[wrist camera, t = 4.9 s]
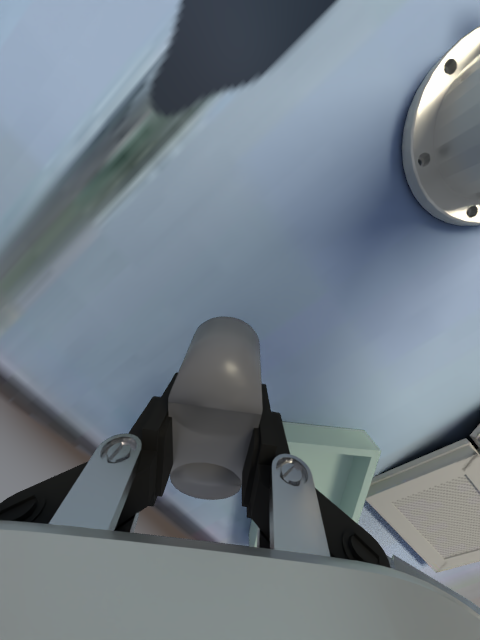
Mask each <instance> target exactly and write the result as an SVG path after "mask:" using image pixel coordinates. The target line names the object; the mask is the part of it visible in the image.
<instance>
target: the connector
mask: <svg viewBox="0 0 480 640" xmlns="http://www.w3.org/2000/svg"><path fill="white" fill-rule="evenodd" d="M262 411H263V406H262V385H261V365H260V344H259V339H258V336H257V334H256V332H255V331H254V330H253V329H252V327H251V326H249V325H248V324H247V323H245V322H244V321H242V320H239V319H236V318H233V317H216V318H212V319H209V320H207V321H206V322H204V323H203V324H201V325H200V326H199V327H198V329H197V330H196V332H195V334H194V336H193V339H192V341H191V344H190V346H189V348H188V351H187V353H186V356H185V358H184V360H183V363H182V365H181V368H180V370H179V372H178V375H177V377H176V380H175V382H174V384H173V387H172V389H171V392H170V394H169V398H168V413H169V417H172V431H173V466H172V469H171V472H170V479H171V482H172V484H173V485H174V487H175V488H176V489H178V490H179V491H181V492H182V493H184V494H186V495H189V496H192V497H195V498H200V499H209V500H215V499H224V498H228V497H230V496H233V495H235V494H236V493H237V492H238V491H239V490H240V488H241V485H242V471H243V467H244V463H245V459H246V456H247V452H248V448H249V444H250V440H251V437H252V433H253V429H254V428H258V426H259V423H260V419H261V416H262Z"/></svg>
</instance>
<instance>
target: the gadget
mask: <svg viewBox="0 0 480 640" xmlns="http://www.w3.org/2000/svg"><path fill="white" fill-rule="evenodd" d="M470 437H471V438H472V439H473V441H474V442H475V443H476V445H477V446H478V447H479V449H477V450H476V449H475V448H474V447H473V445H472V444H471V443H470V442H469V441H468V440H467V439H466V438H465V439H463V440H460V441H458V442H455V443H453V444H451V445H448V446H446V447H444V448H441V449H439V450H437V451H434V452H432V453H430V454H427V455H425V456H422V457H420V458H418V459H415V460H413V461H411V462H408V463H406V464H404V465H401V466H399V467H396V468H394V469H392V470H389V471H387V472H385V473H382V474H380V475H378V476H375V477H374V478H372V481H371V484H370V487H369V490H368V494H367V497H366V501H367V502H368V503H369V504H370V505H371V506H372V507H373V508H374V509H375V510H376V511H377V512H378V513H379V514H380V515H381V516H382V517H383V518H384V519H385V520H386V521H387V522H388V523H389V524H390V525H391V526H392V527H393V529H394V530H395V531H396V532H397V533H398V534H399V535H400V536H401V537H402V538H403V539H404V540H405V541H406V542H407V543H408V544H409V545H410V546H411V547H412V548H413V549H414V550H415V551H416V552H417V553H418V554H419V555H420V556H421V557H422V558H423V559H424V561H425V562H426V563H427V564H428V565H429V566H430V567H431V568H432V569H433V570H434V571H435V572H440V571H444V570H448V569H452V568H456V567H459V566H463V565H467V564H471V563H475V562H479V561H480V424H479V425H478V426H477V428H476V429H475V430H474V431H473V432H472V433H471V434H470Z"/></svg>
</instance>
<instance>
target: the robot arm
mask: <svg viewBox="0 0 480 640" xmlns="http://www.w3.org/2000/svg"><path fill="white" fill-rule="evenodd" d="M402 155H403V167H404V170H405V174H406V178H407V182H408V184H409V186H410V188H411V190H412V193H413V195H414V196H415V198H416V199H417V200H418V202H419V203H420V204H421V205H422V207H423V208H424V209H426V210H427V211H428V212H429V213H430V214H432V215H433V216H434V217H436V218H438V219H440V220H442V221H444V222H446V223H450V224H455V225H459V226H476V225H480V26H479V27H477V28H475V29H474V30H473V31H471V32H470V33H468V34H467V35H465V36H464V37H463V38H461V39H460V40H459V41H458V42H457V43H456V44H455V45H454V46H453V47H452V48H451V49H450V50H449V51H448V52H447V53H446V54H444V55H443V56H442V57H441V59H440V60H439V61H438V62H437V63H436V64H435V65H434V67H433V68H432V69H431V70H430V71H429V72H428V74H427V75H426V77H425V79H424V80H423V82H422V83H421V85H420V87H419V88H418V90H417V92H416V94H415V96H414V99H413V101H412V103H411V106H410V108H409V111H408V115H407V119H406V122H405V126H404V132H403V143H402ZM177 375H178V373H175V375H174V377H173V378H172V380H171V382H170V383H169V385H168V387H167V388H166V390H165V392H164V393H163V395H162V397H155V396H154V397H153V398H152V399H151V400H150V402H149V403H148V405H147V406H146V408H145V409H144V411H143V412H142V414H141V415H140V417H139V418H138V420H137V421H136V423H135V424H134V426H133V427H132V429H131V430H130V432H129V433H128V434H119V435H115V436H112V437H110V438H108V439H107V440H105V441H104V442H102V443H101V444H100V446H99V447H98V448H97V449H96V451H95V453H94V454H93V456H92V457H91V459H90V460H89V461H88V462H86V463H84V464H81V465H79V466H77V467H75V468H72V469H70V470H68V471H66V472H64V473H61V474H59V475H57V476H54V477H52V478H50V479H47V480H45V481H43V482H41V483H38V484H36V485H34V486H32V487H30V488H27V489H25V490H23V491H20V492H18V493H16V494H14V495H13V496H11V497H9V498H7V499H6V500H4V501H3V502H2V503H0V640H480V608H479V607H477V606H476V605H475V604H473V603H472V602H471V601H469V600H468V599H466V598H464V597H463V596H461V595H459V594H458V593H456V592H454V591H453V590H451V589H449V588H448V587H446V586H444V585H443V584H441V583H439V582H438V581H436V580H434V579H433V578H431V577H429V576H428V575H426V574H424V573H423V572H421V571H420V570H418V569H416V568H415V567H413V566H411V565H410V564H408V563H406V562H405V561H403V560H401V559H400V558H398V557H396V556H395V555H393V556H392V558H390V557H388V556H387V555H386V554H385V552H384V550H383V549H382V548H381V546H380V545H379V543H378V542H377V541H376V540H375V539H374V538H373V537H372V536H371V535H370V534H369V533H368V532H367V531H365V530H364V529H363V528H362V527H361V526H360V525H358V524H357V523H356V522H355V521H354V520H352V519H351V518H350V517H349V516H348V515H347V514H345V513H344V512H343V511H342V510H341V509H340V508H338V507H337V506H336V505H335V504H334V503H332V502H331V501H330V500H329V499H328V498H327V497H325V496H324V495H323V494H322V493H321V492H320V491H318V490H317V489H316V488H315V485H314V481H313V476H312V473H311V470H310V469H309V467H308V466H307V464H306V463H305V462H304V461H302V460H301V459H300V458H298V457H296V456H294V455H291V454H290V451H289V447H288V443H287V439H286V435H285V431H284V427H283V423H282V419H281V415H280V413H277V412H271V410H270V404H269V399H268V394H267V388H266V385H265V384H261V385H262V406H263V411H262V416H261V419H260V423H259V426H258V428H254V429H253V433H252V437H251V440H250V444H249V448H248V452H247V456H246V459H245V463H244V467H243V471H242V506H245V507H247V518H251V519H252V520H253V521H254V522H255V524H256V525H257V526H258V530H257V547H250V546H242V545H233V544H225V543H216V542H208V541H199V540H191V539H182V538H173V537H164V536H156V535H147V534H138V533H133V532H134V528H135V525H136V522H137V519H138V515H139V512H140V511H141V510H143V509H144V508H146V507H147V506H154V504H155V501H156V498H157V496H162V495H163V492H164V490H165V487H166V484H167V481H168V478H169V475H170V472H171V469H172V466H173V431H172V417H169V413H168V398H169V394H170V392H171V389H172V387H173V384H174V382H175V380H176V377H177Z"/></svg>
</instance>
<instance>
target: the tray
mask: <svg viewBox="0 0 480 640" xmlns="http://www.w3.org/2000/svg"><path fill="white" fill-rule="evenodd" d="M282 423H283V427H284V431H285V435H286V439H287V443H288V447H289V451H290V454H291V455H294V456H296V457H298V458H300V459H301V460H302V461H304V462H305V463H306V464H307V466H308V467H309V469H310V470H311V473H312V476H313V481H314V485H315V488H316V489H317V490H318V491H320V492H321V493H322V494H323V495H324V496H325V497H327V498H328V499H329V500H330V501H331V502H332V503H334V504H335V505H336V506H337V507H338V508H340V509H341V510H342V511H343V512H344V513H345V514H347V515H348V516H349V517H350V518H351V519H352V520H354V521H355V522H356V523H357V524H358V521H359V518H360V515H361V512H362V509H363V506H364V503H365V500H366V497H367V494H368V490H369V487H370V484H371V481H372V478H373V475H374V472H375V469H376V466H377V463H378V460H379V457H380V454H381V450H380V449H379V448H378V446H377V445H376V444H375V443H374V442H373V440H372V439H371V438H370V437H369V436H368V434H367V433H366V432H365V431H364V430H356V429H347V428H337V427H328V426H318V425H309V424H299V423H290V422H282ZM257 530H258V526H257V525H256V524H255V522H254V521H253V520H252V521H251V526H250V531H249V546H250V547H257Z"/></svg>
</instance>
